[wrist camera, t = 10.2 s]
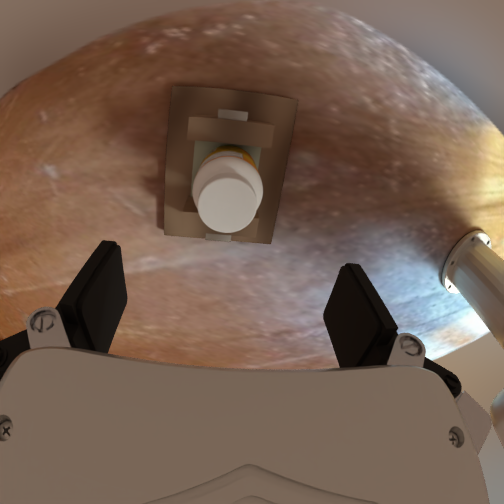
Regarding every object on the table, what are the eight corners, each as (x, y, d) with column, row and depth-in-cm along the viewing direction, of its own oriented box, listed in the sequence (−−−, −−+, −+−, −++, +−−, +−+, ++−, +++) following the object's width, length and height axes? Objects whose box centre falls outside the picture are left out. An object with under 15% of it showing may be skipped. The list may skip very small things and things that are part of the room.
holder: (296, 100, 24) (309, 100, 20) (269, 239, 32) (276, 264, 28) (174, 86, 22) (162, 83, 18) (165, 230, 30) (156, 254, 26)
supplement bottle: (254, 195, 28) (266, 241, 20) (202, 196, 27) (190, 243, 19) (256, 143, 25) (269, 167, 17) (199, 144, 25) (183, 168, 16)
